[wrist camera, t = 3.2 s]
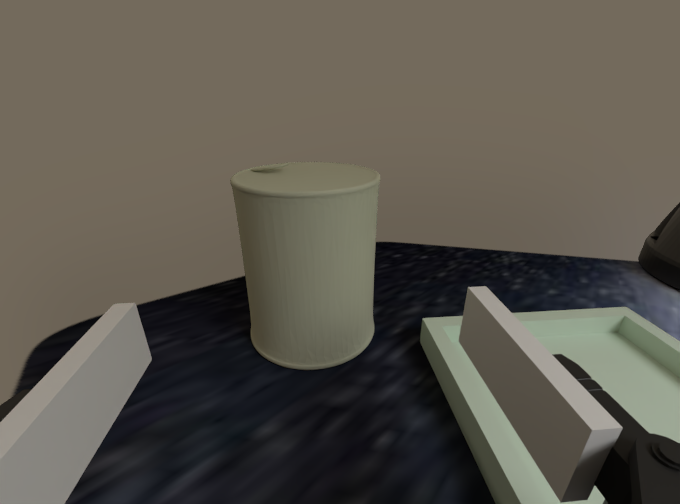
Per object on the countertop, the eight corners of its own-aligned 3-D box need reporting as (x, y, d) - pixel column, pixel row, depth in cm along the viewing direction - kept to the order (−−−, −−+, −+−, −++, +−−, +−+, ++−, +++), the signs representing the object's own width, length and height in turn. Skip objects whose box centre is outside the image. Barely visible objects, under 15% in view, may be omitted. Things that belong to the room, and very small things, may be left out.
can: (294, 286, 31) (285, 152, 26) (390, 310, 28) (400, 159, 23) (223, 346, 24) (191, 173, 19) (342, 389, 20) (342, 190, 15)
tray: (616, 329, 25) (625, 306, 24) (987, 602, 11) (1037, 572, 11) (419, 341, 24) (422, 318, 23) (570, 663, 10) (590, 633, 9)
